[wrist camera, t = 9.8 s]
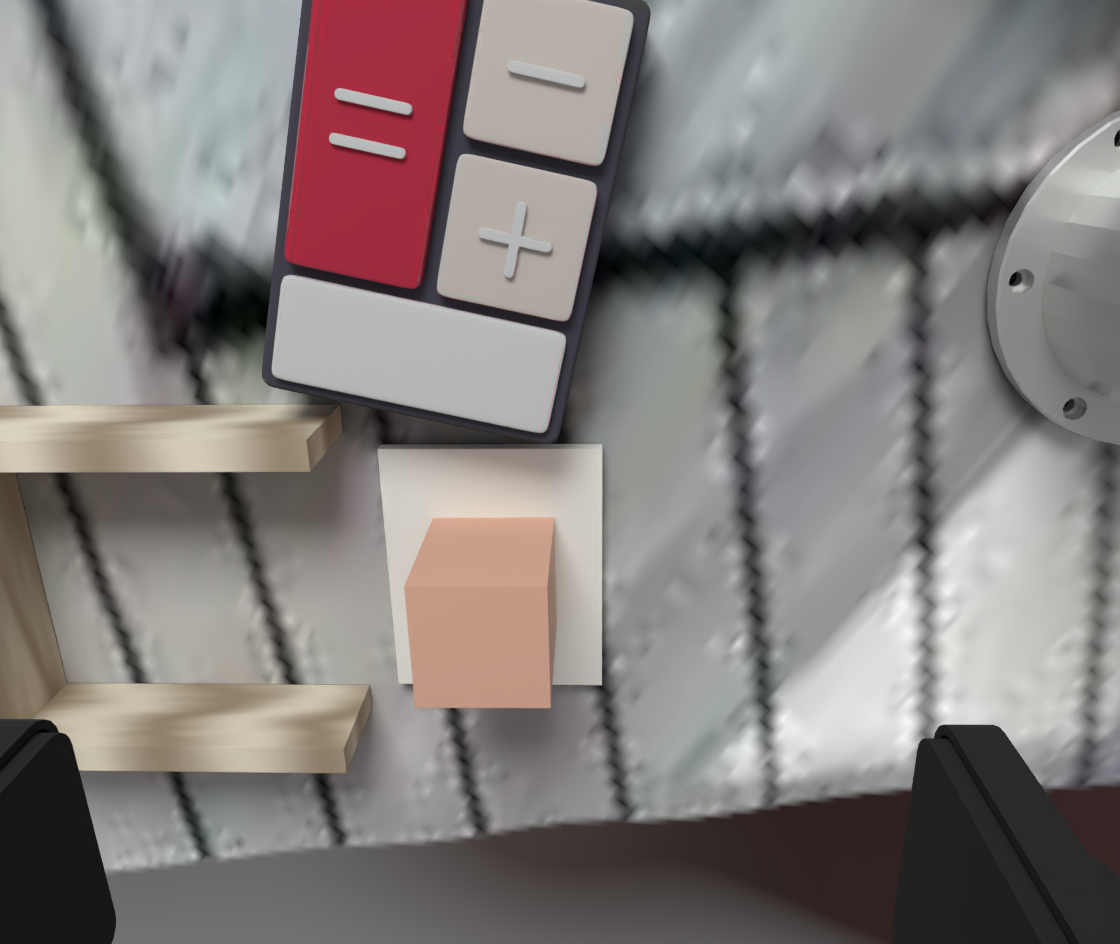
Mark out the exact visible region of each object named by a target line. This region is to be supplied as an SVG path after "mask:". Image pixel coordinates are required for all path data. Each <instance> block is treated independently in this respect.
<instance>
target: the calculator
mask: <svg viewBox="0 0 1120 944" xmlns="http://www.w3.org/2000/svg"><path fill="white" fill-rule="evenodd" d="M649 21H650V9H649V6H648V5H647V3H646V2H645V1H643V0H302V9H301V18H300V27H299V37H298V46H297V55H296V64H295V73H294V82H293V91H292V100H291V109H290V118H289V128H288V137H287V146H286V155H285V164H284V173H283V182H282V191H281V200H280V210H279V219H278V228H277V237H276V246H275V255H274V264H273V273H272V282H271V291H270V301H269V310H268V319H267V328H266V337H265V346H264V355H263V364H262V377H263V380H264V381H265V383H266V384H268V385H269V386H272V387H275V388H279V389H284V390H288V391H293V392H298V393H303V394H307V395H312V396H317V397H322V398H327V399H331V400H336V401H341V402H346V403H351V404H355V405H360V406H365V407H370V408H374V409H379V410H384V411H389V412H394V413H398V414H403V415H408V416H413V417H418V418H422V419H427V420H432V421H437V422H442V423H446V424H451V425H456V426H461V427H465V428H470V429H475V430H480V431H485V432H489V433H494V434H499V435H504V436H509V437H513V438H518V439H523V440H528V441H533V442H537V443H543V444H550V443H553V442H554V441H555V440H556V439H557V438H558V436H559V433H560V429H561V425H562V420H563V416H564V411H565V406H566V402H567V397H568V393H569V388H570V384H571V379H572V374H573V370H574V365H575V361H576V356H577V352H578V347H579V342H580V338H581V333H582V329H583V324H584V320H585V315H586V310H587V306H588V301H589V297H590V292H591V288H592V283H593V278H594V274H595V269H596V265H597V260H598V255H599V251H600V246H601V242H602V237H603V233H604V228H605V223H606V219H607V214H608V210H609V205H610V200H611V196H612V191H613V187H614V182H615V178H616V173H617V168H618V164H619V159H620V155H621V150H622V146H623V141H624V136H625V132H626V127H627V123H628V118H629V113H630V109H631V104H632V100H633V95H634V91H635V86H636V81H637V77H638V72H639V68H640V63H641V58H642V54H643V49H644V45H645V40H646V36H647V31H648V26H649Z"/></svg>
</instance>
